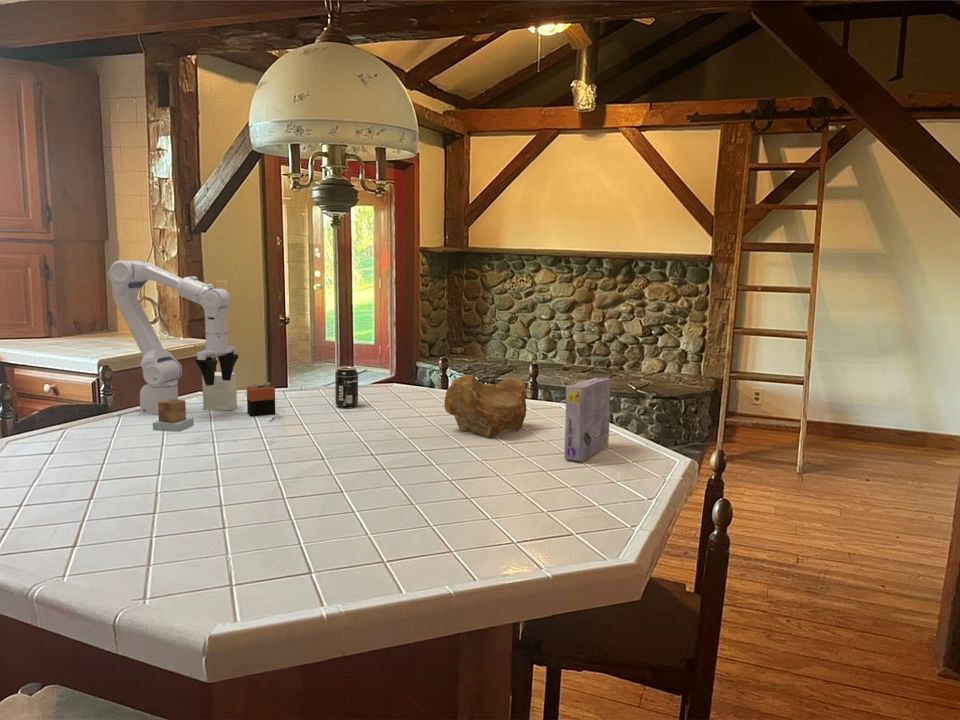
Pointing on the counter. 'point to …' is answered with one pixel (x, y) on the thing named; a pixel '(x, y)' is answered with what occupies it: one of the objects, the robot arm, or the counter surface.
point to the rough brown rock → (487, 405)
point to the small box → (220, 393)
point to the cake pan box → (587, 418)
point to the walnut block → (172, 410)
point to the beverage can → (346, 386)
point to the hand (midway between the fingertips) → (218, 382)
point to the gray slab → (173, 425)
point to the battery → (261, 400)
